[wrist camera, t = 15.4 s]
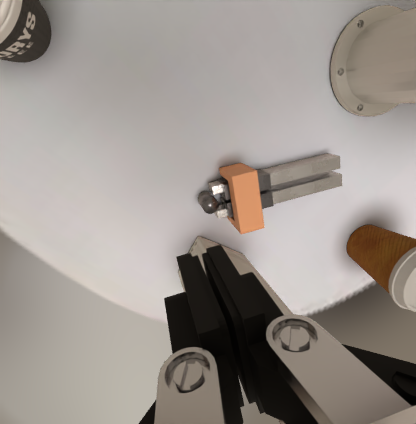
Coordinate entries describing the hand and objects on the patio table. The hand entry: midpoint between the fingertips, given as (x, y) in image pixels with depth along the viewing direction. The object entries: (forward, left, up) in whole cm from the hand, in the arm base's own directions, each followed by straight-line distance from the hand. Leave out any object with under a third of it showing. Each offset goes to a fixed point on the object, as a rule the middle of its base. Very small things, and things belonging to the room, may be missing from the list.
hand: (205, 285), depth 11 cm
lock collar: (-9, +6, -27) cm, 29 cm away
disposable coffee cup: (-29, +20, -27) cm, 45 cm away
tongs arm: (-14, +7, -27) cm, 31 cm away
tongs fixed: (-14, +5, -27) cm, 31 cm away
